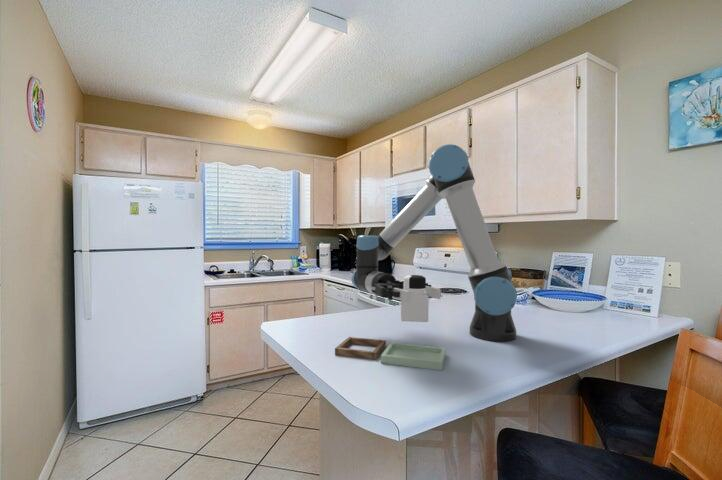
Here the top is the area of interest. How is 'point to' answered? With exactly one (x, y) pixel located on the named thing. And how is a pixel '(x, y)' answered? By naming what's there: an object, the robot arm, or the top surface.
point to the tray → (414, 356)
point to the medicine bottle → (415, 300)
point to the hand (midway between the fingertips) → (424, 295)
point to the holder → (374, 354)
